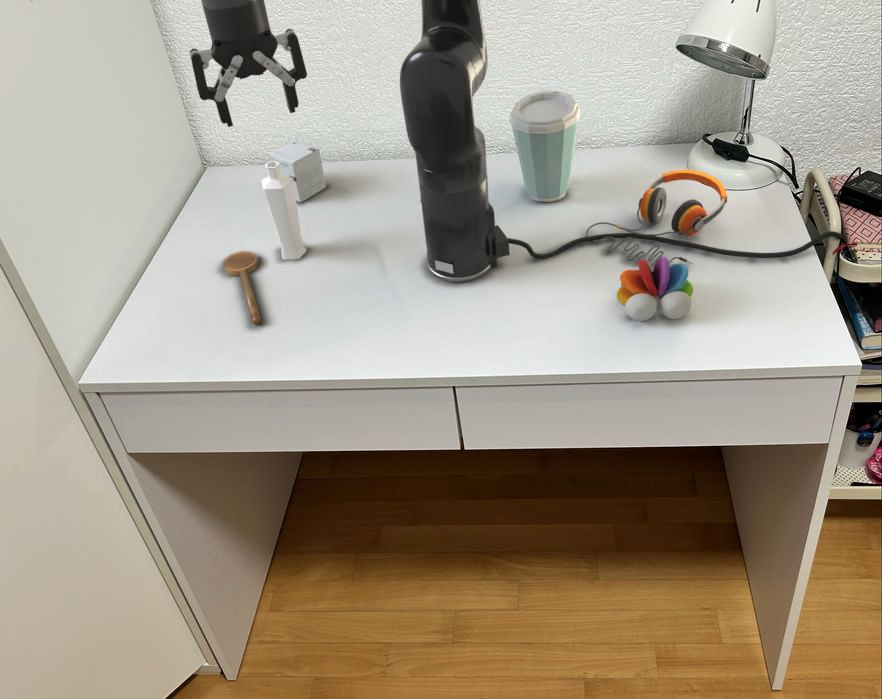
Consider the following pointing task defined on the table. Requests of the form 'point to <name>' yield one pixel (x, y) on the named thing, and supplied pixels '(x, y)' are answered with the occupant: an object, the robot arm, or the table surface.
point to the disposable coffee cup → (545, 142)
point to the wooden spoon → (244, 277)
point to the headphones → (684, 219)
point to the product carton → (301, 168)
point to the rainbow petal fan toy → (655, 290)
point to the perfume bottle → (283, 210)
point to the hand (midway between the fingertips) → (261, 117)
